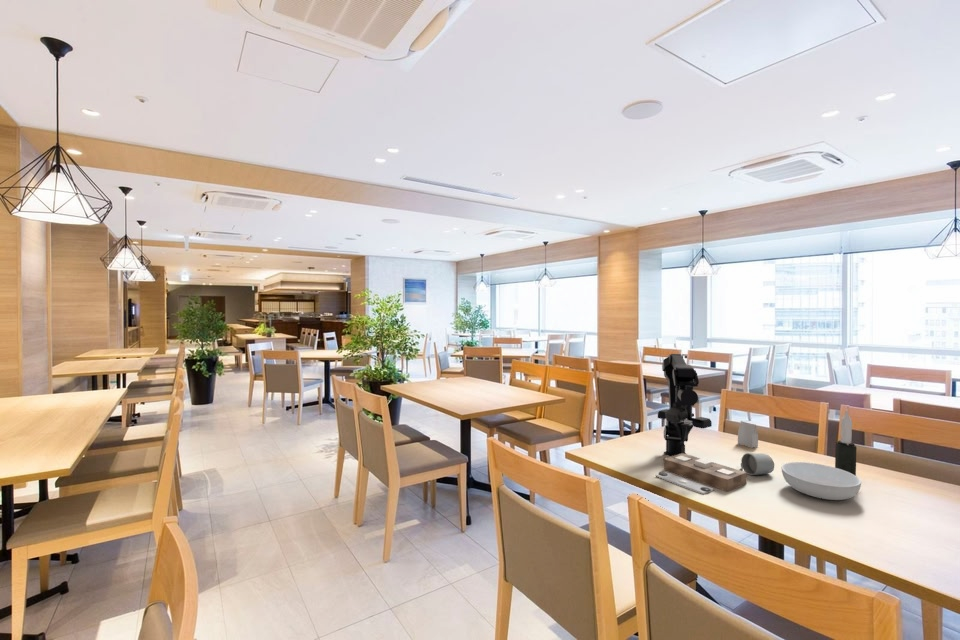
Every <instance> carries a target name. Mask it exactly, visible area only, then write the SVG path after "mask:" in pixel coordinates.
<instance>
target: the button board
mask: <svg viewBox="0 0 960 640" xmlns="http://www.w3.org/2000/svg"><path fill="white" fill-rule="evenodd" d="M678 456H684V457H687V458H691V460H690V461H687V462H683V461H680V460H677V459H675V457H678ZM698 459H702V458H700V457H697V456H694V455H690V454H687V453H686V454H684V453H681V454H678V455H675V456H671V455H670V456H668V457H665V458H663V470H664V469H665V470H664V471H667V470H668V471H667V472H670V471H671V472H670V473H672V474H675V475H678V476H681V475H682V476H681V477H683V478H684V477H685V478H686V479H689V480H690V479H691V480H693V481H695V482H696V481H697V482H699V483H700V484H703V485H706V486H709V487H712V488H713V487H714V488H715V489H719V490H722V491H725V492H730V491H732V490H735V489H738V488H740V487H742V486H745V485H746V484H747V472H745V471H744V470H739V469H737V468H734V467H730V466H727V465H723V464H720V463H717V462H714V461H711V462H712V467H710V468H707V469H705V468H702V467H699V466H696V465H695V460H698ZM720 469H726V470H730V471H733V472H735V473H734V474H733V475H730V476H727V475H724V474H721V473H718V472H717V470H720Z"/></svg>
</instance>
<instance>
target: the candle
mask: <svg viewBox="0 0 960 640" xmlns="http://www.w3.org/2000/svg"><path fill="white" fill-rule="evenodd" d="M840 420H841V421H840V422H841V423H840V440H837V441H836V442H835V453H834V454H835V459H834V461H835V462H834V467H835V468H838V469H841V470H844V471H847V472H849V473H852V474H854V475H855V476H857V446H856V445H855V443H854V442H852V439H853V438H852V437H853V436H852V435H853V434H852V432H853V420H852V418H851V417H850V414H849V410H848V409H845V412H844V415H843V416H842V417H841V419H840Z"/></svg>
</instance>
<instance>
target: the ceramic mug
mask: <svg viewBox="0 0 960 640" xmlns="http://www.w3.org/2000/svg"><path fill="white" fill-rule="evenodd" d="M740 460H741V462H740V468H742V469H743V471H744V472H747V474H748V475H750V476H759V475H769V474H771V473H773V471H774V469H775V463H774V460H773V457H771V456H770V455H769V454H766V453H762V452H761V453H759V452H757V453H756V452H753V453H752V452H747V453H744V454H743V455H742V457H741V459H740Z"/></svg>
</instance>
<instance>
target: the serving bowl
mask: <svg viewBox="0 0 960 640" xmlns="http://www.w3.org/2000/svg"><path fill="white" fill-rule="evenodd" d="M781 473H782V476H783V479H784V480H785V482H786V483H787V484H788V485H789V486H791V488H793V489H794V490H796V491H797V492H800V493H802V494H805V495H807V496H811V497H814V498H818V499H821V498H822V500H830V501H833V500H834V501H842V500H848V499H851V498H853V497H855V496H856V495H857V494H858V493H859V491H860V489H861V486H862V479H861V478H860V477H858V476H857V475H856V476H855V475H854V474H852V473H849V472H847V471H844V470H841V469H838V468H835V466H832V465H831V466H830V465H825V464H820V463H813V462H805V461H792V462H786V463H783V464H781Z"/></svg>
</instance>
